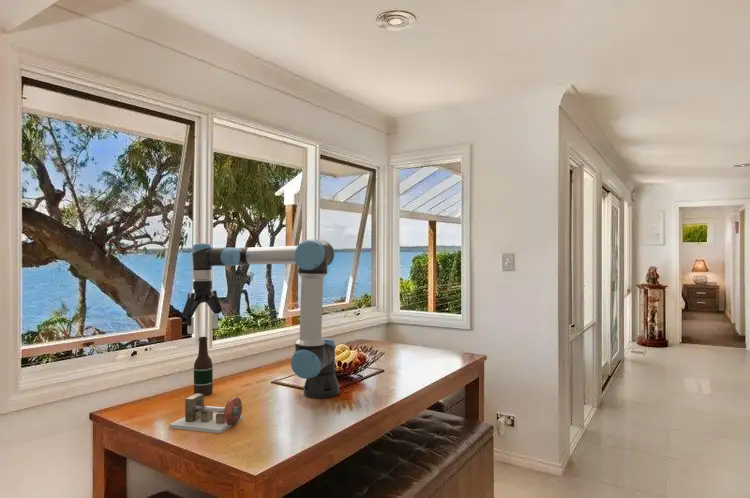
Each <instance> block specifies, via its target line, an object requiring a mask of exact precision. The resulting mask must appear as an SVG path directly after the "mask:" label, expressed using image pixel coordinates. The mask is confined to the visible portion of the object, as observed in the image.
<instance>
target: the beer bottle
mask: <svg viewBox="0 0 750 498" xmlns="http://www.w3.org/2000/svg"><path fill="white" fill-rule="evenodd" d="M197 353H198V354H197V357H196V359H195V360H194V364H193V395H194V394H196V393H199V394H204V397H206V396H210V395H212V394H213V390H214V389H213V388H214V387H213V384H214V383H213V380H214V377H213V376H214V374H213V371H214V370H213V369H214V367H213V360H212V359H211V356H209V351H208V337H207V336H200V337H199V338H198V352H197Z"/></svg>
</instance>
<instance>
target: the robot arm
mask: <svg viewBox="0 0 750 498" xmlns="http://www.w3.org/2000/svg"><path fill="white" fill-rule="evenodd" d="M191 255H192V280H193V282H192V289H193V291H194V292H188V293H187V299H186V302H185V305H184V307H183V310H182V313H181V317H184V318H185V319H186V320H185V321H186V323H185V325H186V326H187V334H190V335H191V334H192V335H194V334H195V326H194V325H195V324H194V323H195V320H194V319H195V317H193V316H194V314H195V312H196V311H197V309H198V307H199V306H200V304H202V303H206V304H207V305H208V307H209V309H210V310H211V312H212V313H211V329H214V330H215V329H216V330H217V329H219V319H220V318H219V316H220V315H219V314H220V313H222V311H223V308H222V305H221V303H220V302H221V301H220V300H219V297H218V295H217V292H218V291H216V290H214V289H213V281H212V279H213V271H212V270H213V269H212V268H213V267H215V266H216V267H232V266H249V265H286V264H287V265H289V264H290V265H291V264H293V265H294V264H296V266H297V275H299V277H300V279H301V281H300V282H301V283H300V312H299V313H300V315H299V317H300V318H299V338H298V339H297V340H296V341H295V344H294V345H295V347H294V353H293V354H292V356H291V359H290V367H291V370H292V372H293V373H294V374H295V376H297V377H298V378H301V379H304V380H305V382H304V385H303V393H302V394H303V396H305V397H308V398H313V399H325V398H332V397H336V396H337V395H339V393H340V385H339V382H338V378H337V376H336V344H335V343H336V342H335V340H334V339H332V338H322V330H323V329H322V326H323V297H324V296H323V295H324V278H325V277H326V276H327V275H328V266H330V265H331V264H332V263H333V261H334V259H335V250H334V247H333V245H331V243H329V242H328V241H327V240H321V239H313V238H312V239H306V240H303V241H302V242H300V243H299V244H298V245H285V246H283V245H282V246H257V247H256V246H255V247H253V246H252V247H212V244H211V243H207V242H205V243H204V242H203V243H194V244H193V245H192V253H191ZM212 289H213V290H212Z"/></svg>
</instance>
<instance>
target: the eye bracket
mask: <svg viewBox="0 0 750 498" xmlns="http://www.w3.org/2000/svg"><path fill="white" fill-rule="evenodd" d="M195 405H202V406H205V396H204V394H199V393H196V394H194V393H193V394H192V395H190V396H188V397H185V398H184V408H185V409H184V411H185V412H184V415H185V416H184V417H185V422H194V421H196V420H198V419H200V418H201V422H208V421H210V420H212V419H213V413H214V412H208V411H197V410H195ZM217 413H218V412H217ZM224 422H225V419H224V413H218V414H216V423H220V424H222V423H224Z"/></svg>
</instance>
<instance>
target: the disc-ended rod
mask: <svg viewBox="0 0 750 498" xmlns="http://www.w3.org/2000/svg"><path fill="white" fill-rule="evenodd" d="M195 410H197V411H208V412H213V413H224V419H225V422H226V424H227V425H233V426H235V425H237V424H238V423H239V422H240V421H239V419H240V417H241V416H242V413H243V403H242V400H241V398H239V397H238V396H237V397H235V396H232V397H230V398H229V399H228V400H227V403H226V405H225V407H222V406H221V407H220V406H210V405H204V406H202V405H195ZM238 421H239V422H238ZM237 422H238V423H237Z"/></svg>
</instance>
